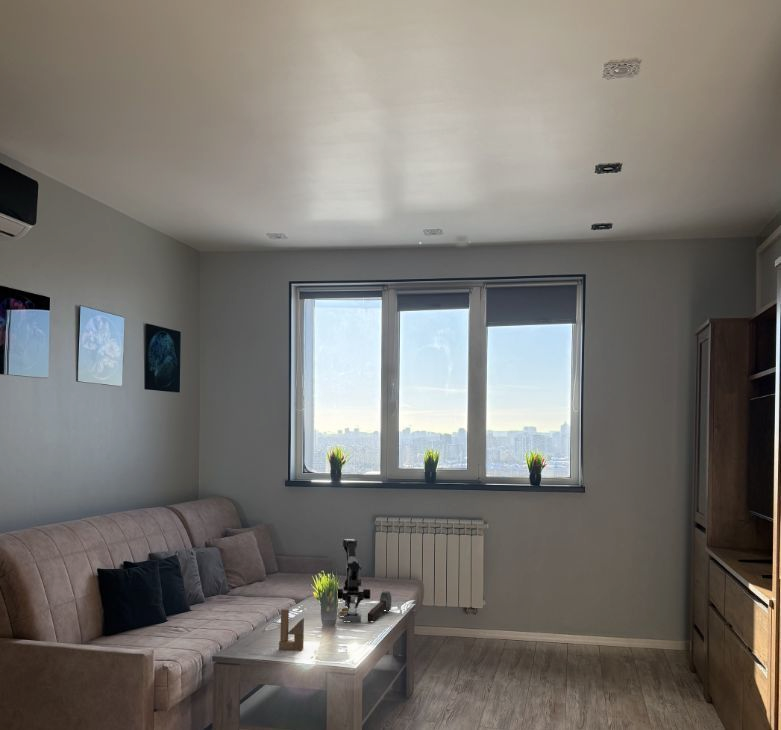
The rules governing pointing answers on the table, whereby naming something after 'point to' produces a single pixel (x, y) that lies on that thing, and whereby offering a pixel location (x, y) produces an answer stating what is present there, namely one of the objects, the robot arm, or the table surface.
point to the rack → (343, 611)
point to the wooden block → (296, 631)
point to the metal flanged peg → (352, 606)
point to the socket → (352, 617)
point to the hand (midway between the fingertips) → (352, 607)
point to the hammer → (380, 606)
